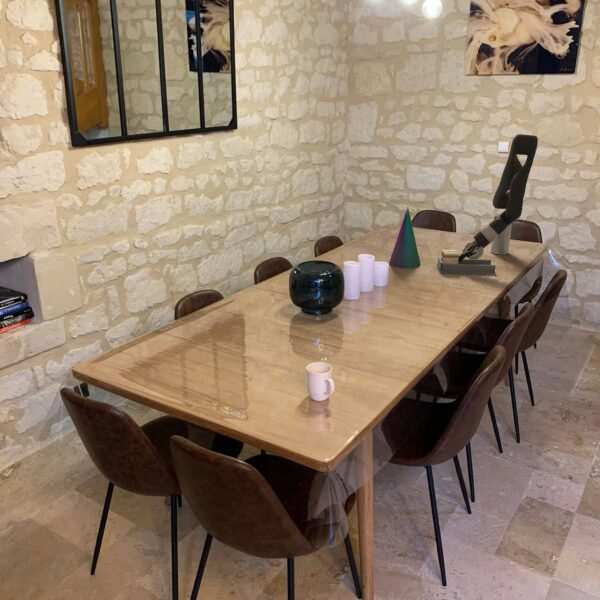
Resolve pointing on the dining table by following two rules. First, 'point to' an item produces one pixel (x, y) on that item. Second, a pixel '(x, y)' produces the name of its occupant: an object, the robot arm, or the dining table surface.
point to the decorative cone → (405, 246)
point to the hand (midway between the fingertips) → (458, 260)
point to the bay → (467, 267)
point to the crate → (450, 256)
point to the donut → (478, 254)
